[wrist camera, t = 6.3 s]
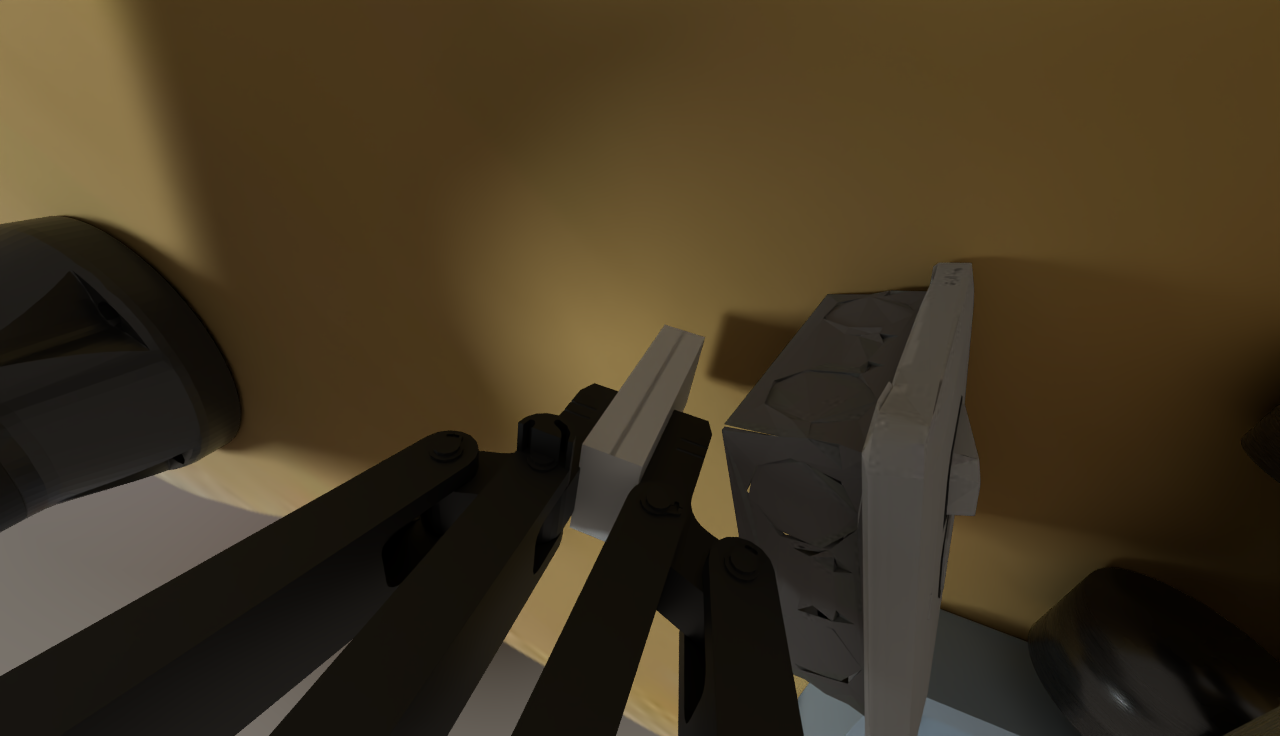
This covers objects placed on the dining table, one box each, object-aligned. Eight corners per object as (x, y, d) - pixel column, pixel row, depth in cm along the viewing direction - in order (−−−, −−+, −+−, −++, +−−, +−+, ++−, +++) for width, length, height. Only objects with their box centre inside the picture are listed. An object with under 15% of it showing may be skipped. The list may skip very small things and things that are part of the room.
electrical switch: (949, 506, 17) (1001, 817, 10) (800, 489, 20) (753, 732, 12) (972, 250, 13) (1084, 451, 6) (781, 266, 16) (696, 427, 8)
